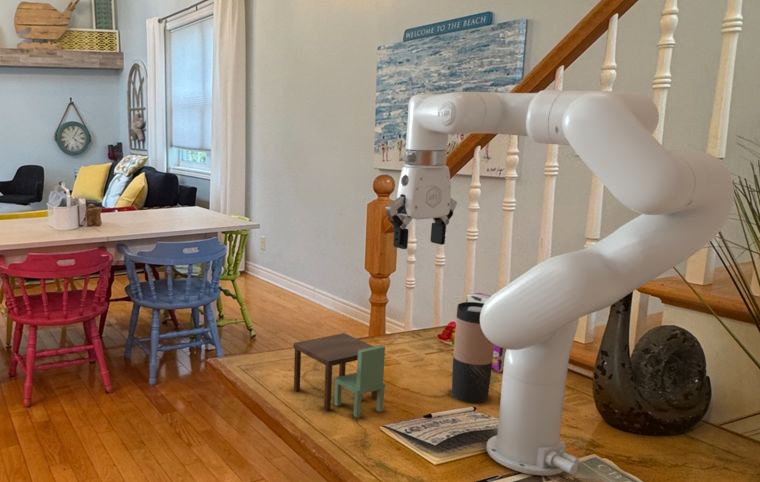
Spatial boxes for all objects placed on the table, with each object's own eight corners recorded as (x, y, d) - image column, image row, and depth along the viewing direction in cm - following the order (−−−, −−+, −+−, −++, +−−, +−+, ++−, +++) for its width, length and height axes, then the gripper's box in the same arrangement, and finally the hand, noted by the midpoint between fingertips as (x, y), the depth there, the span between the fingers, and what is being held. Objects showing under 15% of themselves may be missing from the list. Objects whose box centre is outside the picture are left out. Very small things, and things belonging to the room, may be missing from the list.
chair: (384, 411, 130) (387, 346, 128) (356, 418, 127) (359, 352, 125) (360, 397, 137) (362, 335, 134) (333, 404, 134) (335, 341, 131)
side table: (379, 398, 136) (381, 349, 134) (326, 411, 130) (328, 361, 128) (342, 378, 147) (344, 332, 145) (292, 389, 141) (293, 342, 139)
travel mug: (490, 393, 138) (498, 304, 134) (487, 406, 132) (495, 314, 128) (453, 385, 142) (459, 299, 138) (447, 399, 135) (454, 309, 132)
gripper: (405, 162, 116) (398, 253, 119) (473, 159, 123) (466, 245, 126) (376, 159, 123) (371, 246, 126) (443, 156, 130) (437, 238, 133)
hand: (419, 245), depth 126 cm, fingers open, 9 cm apart
